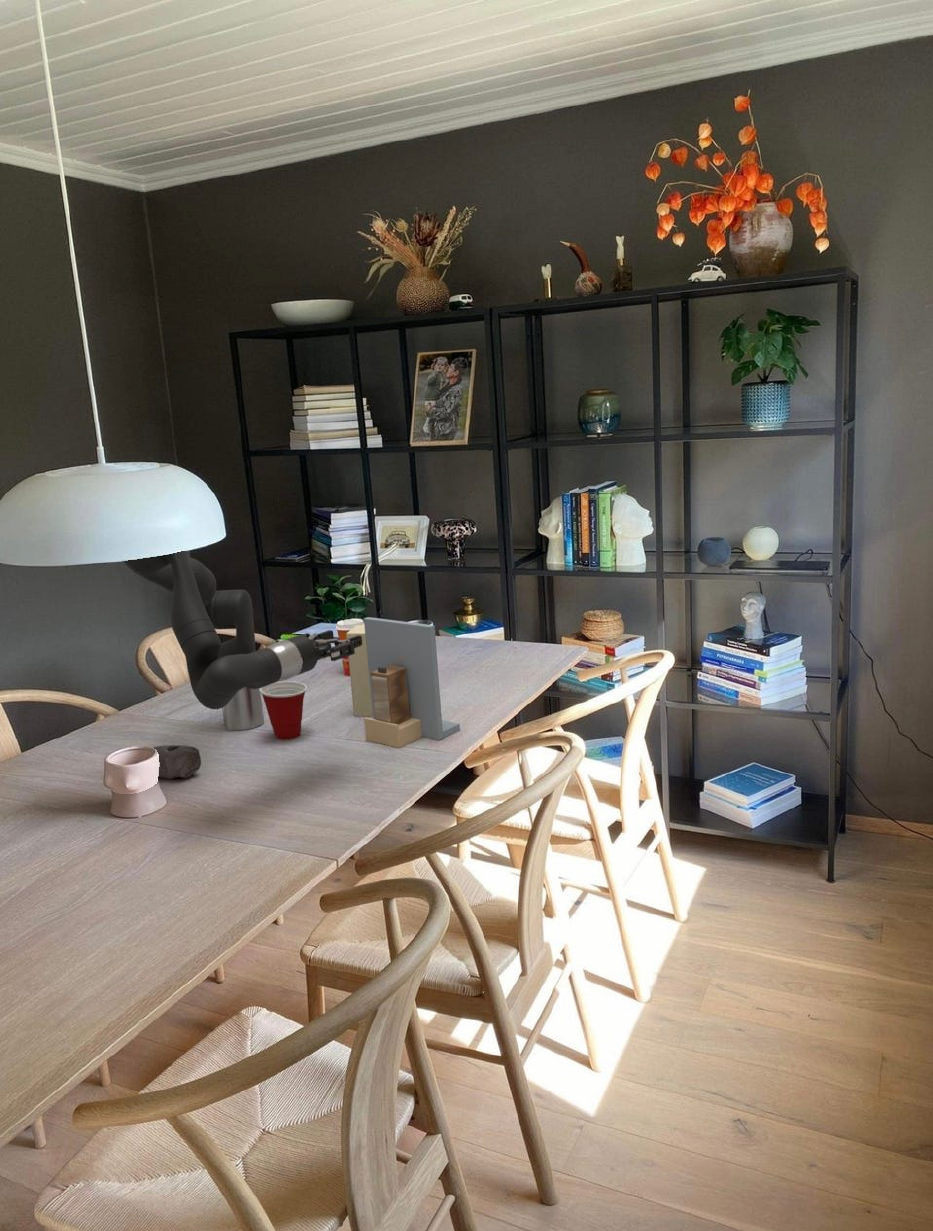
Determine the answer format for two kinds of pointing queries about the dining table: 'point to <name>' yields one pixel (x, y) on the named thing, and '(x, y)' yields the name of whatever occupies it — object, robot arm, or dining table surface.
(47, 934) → the dining table surface
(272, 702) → the plastic cup
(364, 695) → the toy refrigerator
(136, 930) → the dining table surface
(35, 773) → the dining table surface
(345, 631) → the coffee cup
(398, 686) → the walnut cabinet
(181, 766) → the perforated stone tool
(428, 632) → the wall board
